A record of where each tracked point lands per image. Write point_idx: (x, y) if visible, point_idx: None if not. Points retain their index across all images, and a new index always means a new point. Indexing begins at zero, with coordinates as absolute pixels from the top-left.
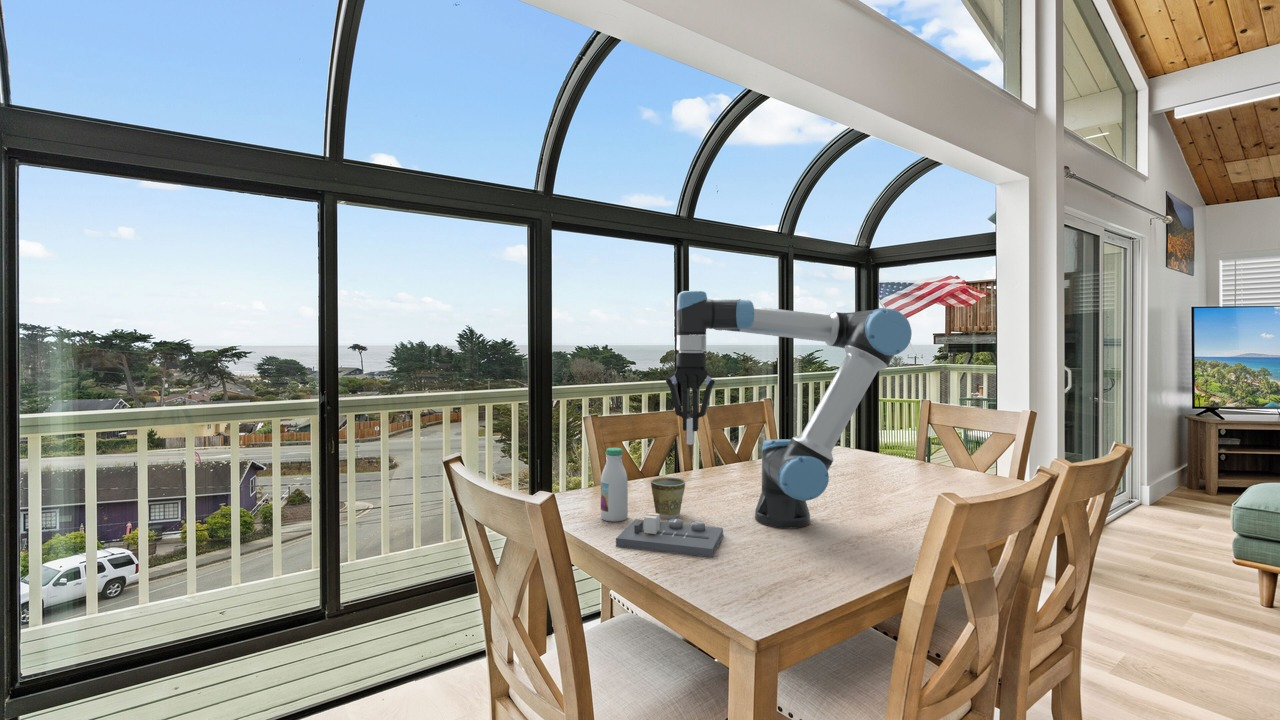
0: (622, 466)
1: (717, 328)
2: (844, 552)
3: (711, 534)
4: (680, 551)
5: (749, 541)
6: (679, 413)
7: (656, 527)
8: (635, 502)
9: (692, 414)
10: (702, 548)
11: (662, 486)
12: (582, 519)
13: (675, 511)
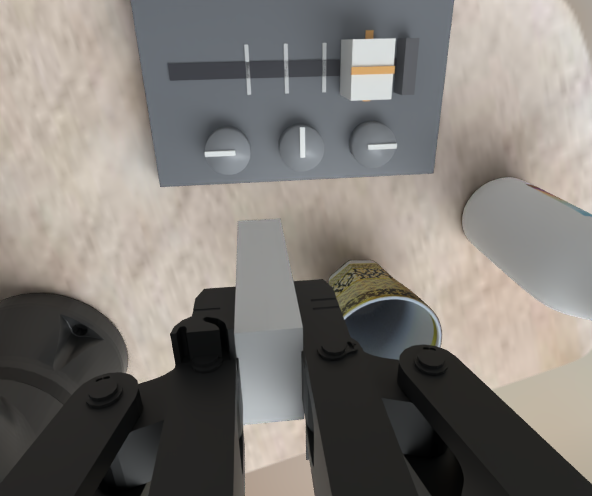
0: (576, 289)
1: None
2: None
3: (174, 112)
4: None
5: (75, 157)
6: (409, 364)
7: (344, 52)
8: (462, 350)
9: (235, 379)
10: None
11: (392, 293)
12: (582, 171)
13: (335, 279)
